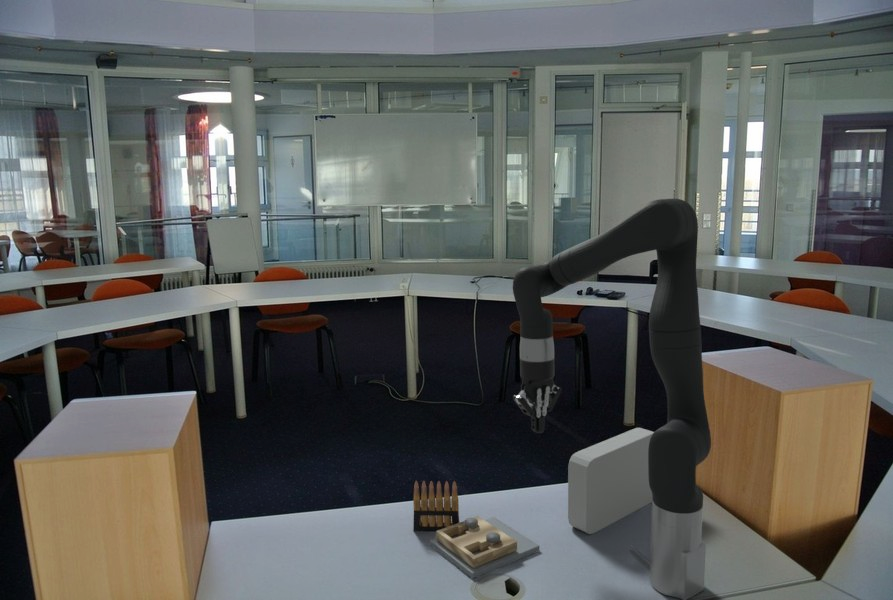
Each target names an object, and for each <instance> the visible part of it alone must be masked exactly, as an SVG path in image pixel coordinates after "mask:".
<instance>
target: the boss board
mask: <svg viewBox="0 0 893 600" xmlns="http://www.w3.org/2000/svg"><path fill="white" fill-rule="evenodd" d="M484 520H485V521H486V522H488V523H490V524H491V525H493V526H494V527H496V528H497V529H499V530H500V531H502V532H503V533H505V534H506V535H508V536H509V537H511V538H513V539H514V540H516V541H517V550H516V551H514V552H512V553H509V554H507V555H504V556H502V557H499V558H497V559H494V560H492V561H490V562H487V563H485V564H482V565H480V566H477V567H475V568H473V567H472V566H470V565H469V564H468V563H467V562H465V561H464V560H463V559H461V558H460V557H459V556H457V555H456V554H455V553H454V552H452V551H451V550H450V549H448V548H447V547H446V546H444V545H443V544H442V543H441V542H439V541H438V540H437V539H436V537H434V538H433V539H430V540H429V546H430V547H432V548H433V549H434V550H435V551H436V552H438V553H439V554H441V555H442V556H443V557H444V558H446V559H447V560H448V561H449V562H450V563H452V564H453V565H454V566H455V567H457V568H458V569H460V570H461V571H462V572H463V573H465V574H466V575H467V576H468V577H469V578H471V579H475V578H478V577H480V576H483V575H485V574H487V573H490V572H492V571H495V570H497V569H499V568H502V567H503V566H507V565H508V564H511V563H513V562H516V561H518V560H520V559H523V558H525V557H527V556H531V555H533V554H534V553H535V554H536V553H538V552H540V545H539V544H538V543H536V542H535V541H533V540H532V539H530V538H529V537H527V536H526V535H524V534H522V533H520V532H518V531H517V530H516V529H514V528H512V527H511V526H509V525H508V524H506V523H505V522H503V521H501V520H500V519H498V518H497V517H495V516H493V517H490V518H487V519H484ZM464 521H465V526H466V527H469V530H471V529H474V527H476V526H478V520H477V519H475V518H474V517H467V518H465V519H464ZM464 535H465V534H464ZM461 536H462V535H461ZM457 537H459V535H458V534H457V535H454V536H452V537H451V538H452V539H454V538H457ZM486 540H487V541H488V542H490V543H491V546H492V545H494V544H496V543H497V542H499V541H500V534H498V533H495V532H491V533H488V534H487V535H486ZM484 551H487V549H486V550H484ZM484 551H480V550H477V551H474V552H472V554H474V555H476V554H479V553H481V552H484Z"/></svg>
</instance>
